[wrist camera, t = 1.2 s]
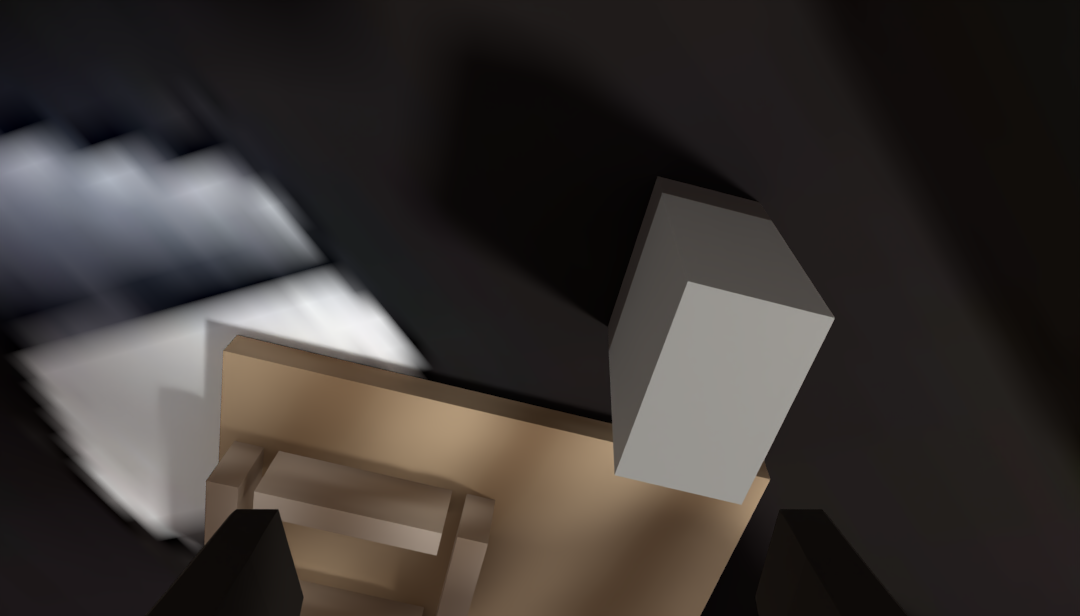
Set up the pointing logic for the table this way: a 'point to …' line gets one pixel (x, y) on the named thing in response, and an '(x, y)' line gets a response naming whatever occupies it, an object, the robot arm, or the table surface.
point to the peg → (707, 342)
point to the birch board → (454, 497)
